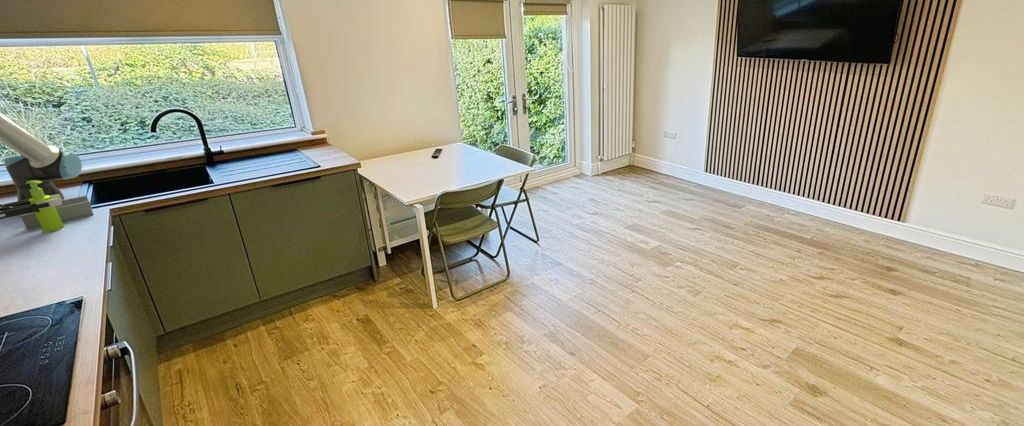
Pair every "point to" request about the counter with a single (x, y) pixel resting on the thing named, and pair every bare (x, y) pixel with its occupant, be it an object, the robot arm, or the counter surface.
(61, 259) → the counter surface
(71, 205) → the gray rectangular tray
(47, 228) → the soap dispenser
